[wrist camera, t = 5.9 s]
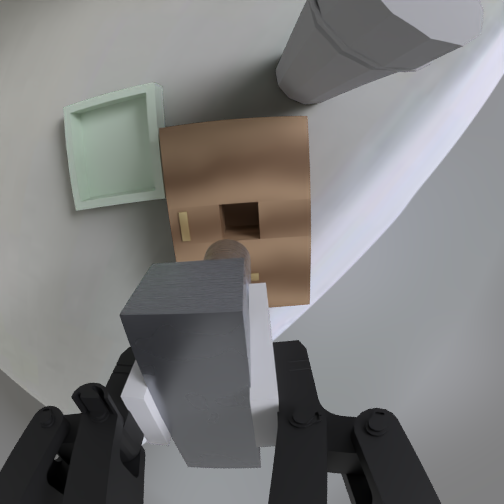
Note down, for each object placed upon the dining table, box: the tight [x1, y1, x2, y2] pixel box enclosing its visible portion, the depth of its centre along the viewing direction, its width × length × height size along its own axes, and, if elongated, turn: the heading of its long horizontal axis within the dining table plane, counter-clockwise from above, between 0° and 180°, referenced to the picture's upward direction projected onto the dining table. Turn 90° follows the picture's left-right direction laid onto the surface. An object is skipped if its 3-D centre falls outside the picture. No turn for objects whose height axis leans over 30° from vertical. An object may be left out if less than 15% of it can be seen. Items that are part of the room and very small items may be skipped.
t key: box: [120, 239, 261, 468], centre depth 14 cm, size 3×8×12 cm, turn 4°
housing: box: [159, 116, 311, 307], centre depth 32 cm, size 20×14×6 cm
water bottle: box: [275, 0, 484, 104], centre depth 17 cm, size 9×8×25 cm
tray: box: [63, 82, 166, 211], centre depth 30 cm, size 13×12×3 cm
